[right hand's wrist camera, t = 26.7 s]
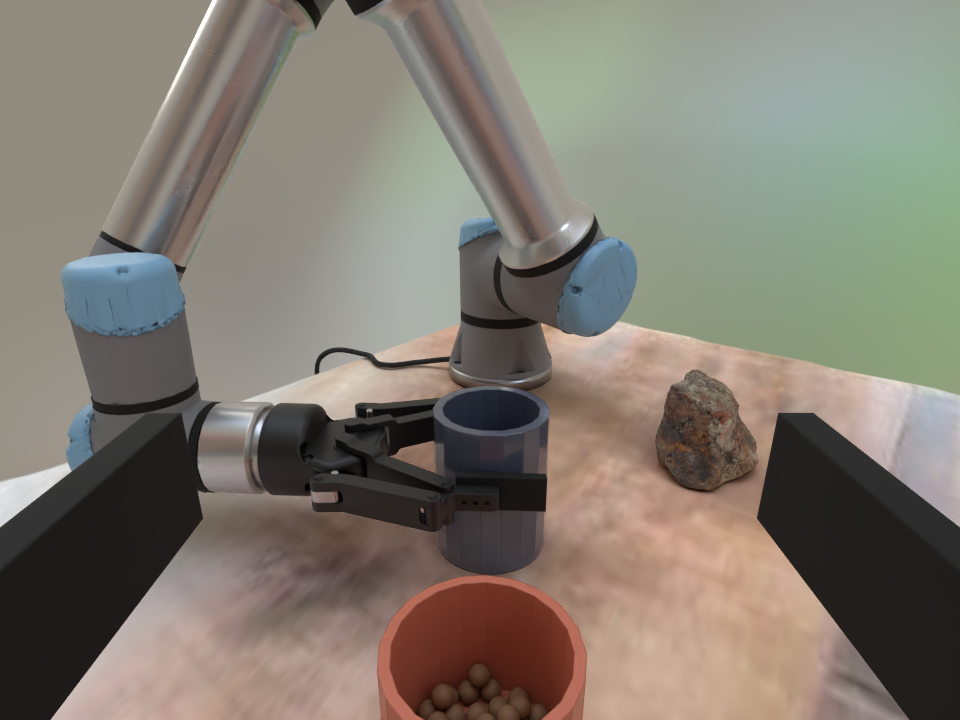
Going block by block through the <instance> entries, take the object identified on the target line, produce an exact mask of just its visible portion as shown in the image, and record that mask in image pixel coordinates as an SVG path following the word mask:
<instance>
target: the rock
mask: <svg viewBox="0 0 960 720" xmlns="http://www.w3.org/2000/svg"><path fill="white" fill-rule="evenodd" d="M738 407H739V404H738V403H737V401H736V399H735V398H734V395H733V393H732V391H731V390H730V389H728V387H727V386H726V385H725V384H723V383H722V382H720V381H718V380H716V379H714V378H710V377H708V376H707V375H706V374H705V373H703V372H702V371H699V370H691V371H690V372H689V373H687V374H686V376H685V378H684V380H683V381H681V382H680V383H676V384H674V385H672V386H671V387H670V391H669V392H668V394H667V399H666V402H665V406H664V410H665V411H664V415H663V419H662V421H661V424H660V426H659V428H658V431H657V435H656V449H657V455H658V460H659V462H660V464H661V465H662V466H664V467H666V468H668V469H669V471H670V472H671V473H672V474H673V475H674V476H675V478H676V480H677V481H678V482H679V483H680V484H682V485H684V486H686V487H689V488H693V489H703V490H712V489H714V488H716V487H718V486H720V485H721V484H722V483H724V482H726V481H729V480H733V479H735V478H740V477H741V476H742V475H743V474H745V473H747V472H749V471H750V470H751V469H753V468H754V467H755V466H756V465H757V464H758V458H757V454H756V450H757V446H756V441H755V439H754V437H753V436H752V435H751V433H750V431H749V430H748V429H747V428H746V426H745V424H744V423H743V422H742V421H741V419H740V417H739V414H738Z"/></svg>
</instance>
